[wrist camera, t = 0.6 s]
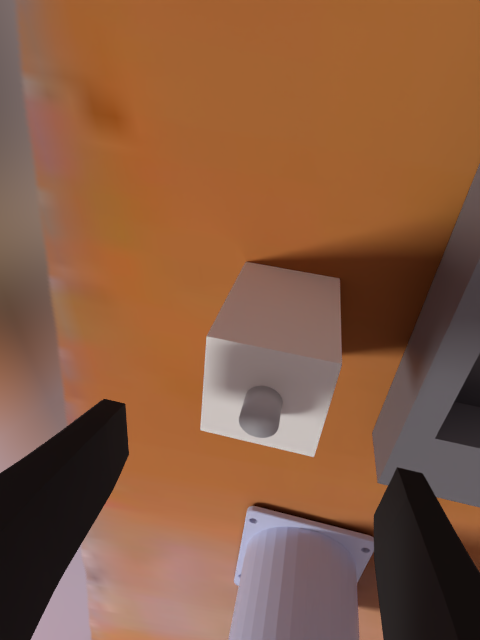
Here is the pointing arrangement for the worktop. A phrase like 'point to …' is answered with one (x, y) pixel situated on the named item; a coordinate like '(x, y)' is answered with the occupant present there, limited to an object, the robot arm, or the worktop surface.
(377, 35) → the worktop surface
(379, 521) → the robot arm
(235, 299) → the charger block
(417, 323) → the power strip
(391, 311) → the worktop surface
